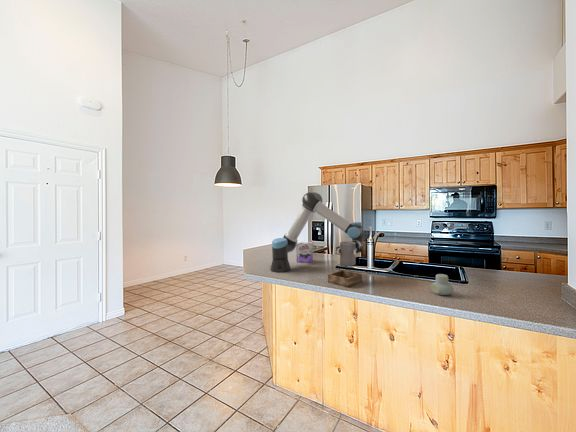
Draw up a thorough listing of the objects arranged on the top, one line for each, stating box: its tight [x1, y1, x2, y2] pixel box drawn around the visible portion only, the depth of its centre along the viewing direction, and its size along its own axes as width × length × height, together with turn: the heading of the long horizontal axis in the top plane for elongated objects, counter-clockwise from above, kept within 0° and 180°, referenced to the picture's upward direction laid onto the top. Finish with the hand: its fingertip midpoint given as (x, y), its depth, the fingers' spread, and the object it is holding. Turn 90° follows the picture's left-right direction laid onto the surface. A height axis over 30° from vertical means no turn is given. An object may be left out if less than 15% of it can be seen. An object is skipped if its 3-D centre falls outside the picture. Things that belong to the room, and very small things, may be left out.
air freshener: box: [430, 273, 455, 296], centre depth 146 cm, size 11×8×10 cm
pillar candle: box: [339, 240, 357, 267], centre depth 172 cm, size 10×10×15 cm
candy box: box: [295, 241, 314, 263], centre depth 231 cm, size 14×6×16 cm, turn 80°
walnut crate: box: [327, 269, 363, 288], centre depth 171 cm, size 15×15×5 cm
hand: (345, 252), depth 168 cm, fingers closed on pillar candle, 9 cm apart
